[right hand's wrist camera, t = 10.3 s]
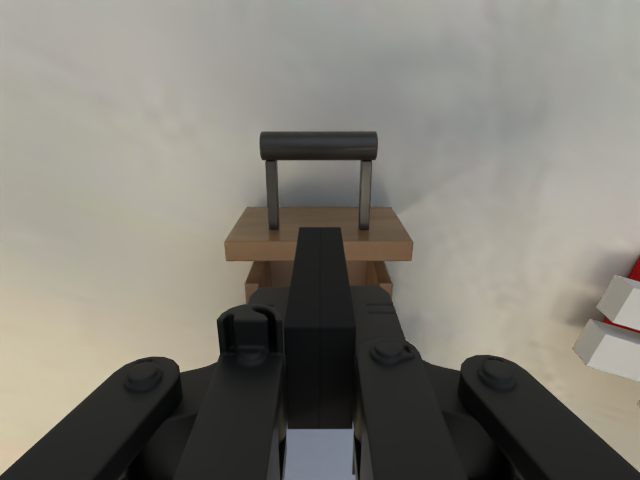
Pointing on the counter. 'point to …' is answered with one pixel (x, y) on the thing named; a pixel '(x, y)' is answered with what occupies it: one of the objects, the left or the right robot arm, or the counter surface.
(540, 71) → the counter surface
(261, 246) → the drawer
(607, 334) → the toy
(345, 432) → the cabinet
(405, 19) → the counter surface
